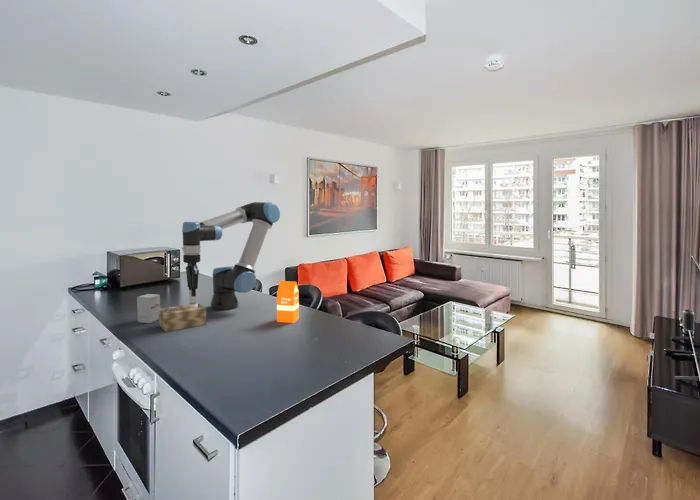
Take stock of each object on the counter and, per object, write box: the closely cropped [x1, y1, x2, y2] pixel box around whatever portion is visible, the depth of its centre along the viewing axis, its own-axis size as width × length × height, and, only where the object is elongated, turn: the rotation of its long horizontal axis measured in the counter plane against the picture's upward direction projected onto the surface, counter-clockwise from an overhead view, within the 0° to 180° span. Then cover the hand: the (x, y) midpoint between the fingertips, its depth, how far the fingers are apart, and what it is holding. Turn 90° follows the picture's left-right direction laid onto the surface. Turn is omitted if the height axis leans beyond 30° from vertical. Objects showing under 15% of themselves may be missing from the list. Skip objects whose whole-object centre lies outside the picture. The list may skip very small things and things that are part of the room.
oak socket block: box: [158, 303, 207, 333], centre depth 174 cm, size 18×12×8 cm, turn 129°
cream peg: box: [188, 301, 199, 309], centre depth 177 cm, size 4×4×8 cm
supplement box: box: [136, 293, 161, 324], centre depth 180 cm, size 7×7×13 cm
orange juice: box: [276, 280, 300, 324], centre depth 184 cm, size 8×9×20 cm
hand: (192, 302), depth 177 cm, fingers closed
